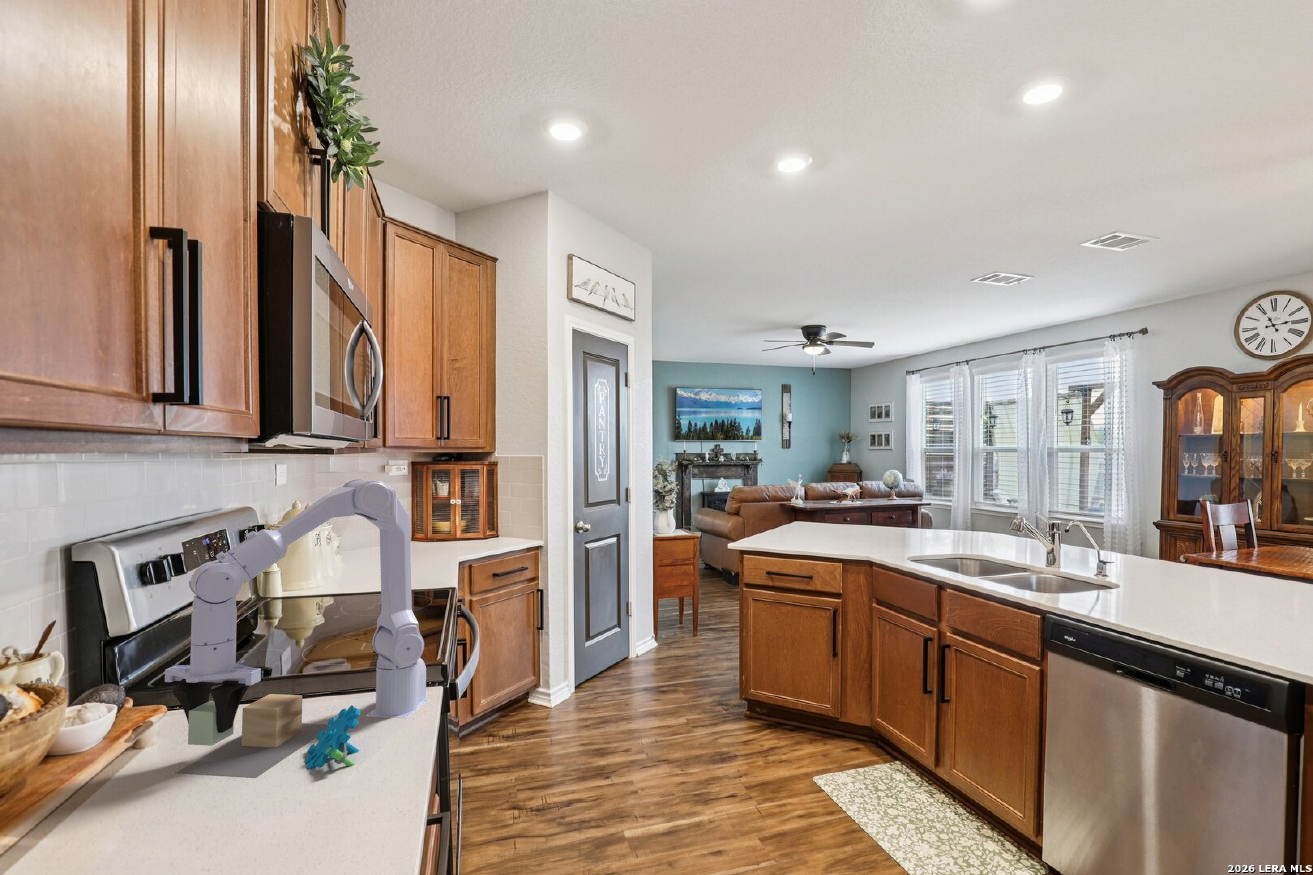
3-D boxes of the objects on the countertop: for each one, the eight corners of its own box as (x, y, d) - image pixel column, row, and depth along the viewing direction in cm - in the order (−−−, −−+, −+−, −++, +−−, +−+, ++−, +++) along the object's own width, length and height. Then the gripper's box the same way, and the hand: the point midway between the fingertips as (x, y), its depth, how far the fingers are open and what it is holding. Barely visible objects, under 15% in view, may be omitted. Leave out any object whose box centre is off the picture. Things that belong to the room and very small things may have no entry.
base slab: (268, 729, 104) (269, 711, 104) (301, 731, 103) (301, 713, 103) (241, 745, 98) (242, 726, 98) (275, 747, 97) (276, 728, 97)
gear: (301, 742, 97) (352, 692, 100) (330, 761, 99) (379, 711, 102) (299, 784, 87) (355, 726, 90) (331, 803, 89) (384, 747, 92)
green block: (210, 732, 95) (211, 700, 96) (233, 733, 95) (234, 701, 95) (187, 744, 91) (188, 710, 92) (212, 745, 91) (213, 711, 91)
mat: (265, 724, 107) (265, 721, 107) (334, 728, 106) (334, 724, 106) (174, 776, 89) (174, 772, 89) (255, 781, 88) (256, 777, 88)
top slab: (269, 711, 104) (270, 693, 104) (301, 713, 103) (302, 695, 103) (242, 726, 98) (242, 707, 98) (276, 728, 97) (276, 709, 97)
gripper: (147, 646, 91) (144, 738, 90) (236, 649, 89) (233, 743, 88) (188, 633, 98) (186, 718, 97) (271, 635, 96) (269, 722, 95)
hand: (211, 729), depth 93 cm, fingers closed on green block, 4 cm apart
